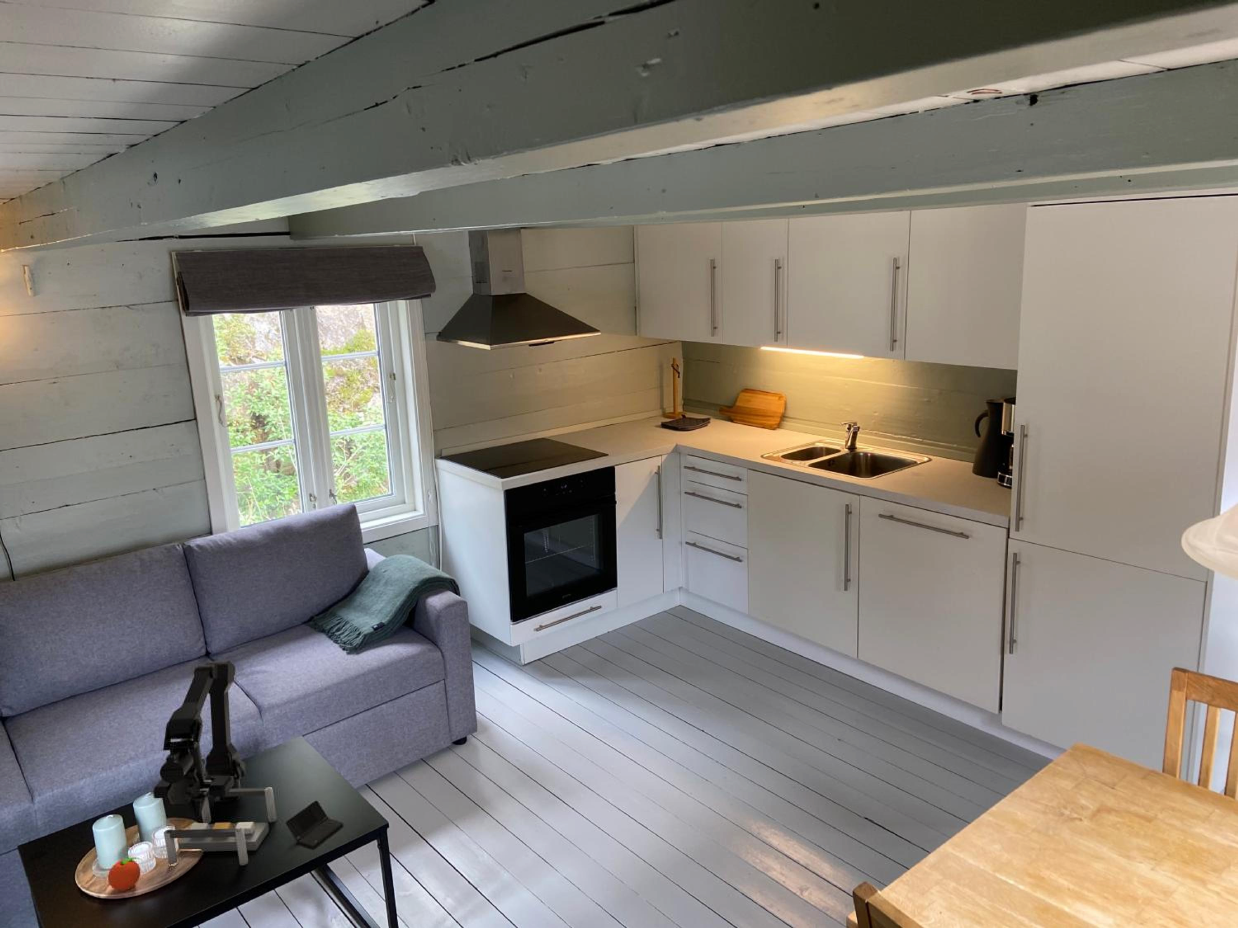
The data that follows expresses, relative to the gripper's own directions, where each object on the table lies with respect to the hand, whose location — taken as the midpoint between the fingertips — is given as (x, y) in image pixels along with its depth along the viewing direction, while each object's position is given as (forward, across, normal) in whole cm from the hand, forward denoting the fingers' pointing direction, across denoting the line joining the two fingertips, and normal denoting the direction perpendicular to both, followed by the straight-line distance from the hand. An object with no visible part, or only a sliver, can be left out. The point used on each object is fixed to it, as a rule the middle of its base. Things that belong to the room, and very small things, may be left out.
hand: (198, 815), depth 236 cm
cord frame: (+8, +6, 0) cm, 10 cm away
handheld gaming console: (+8, +29, +3) cm, 30 cm away
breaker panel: (+8, +6, 0) cm, 10 cm away
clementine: (+8, -10, -17) cm, 21 cm away
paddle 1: (+5, 0, 0) cm, 5 cm away
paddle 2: (+5, +12, 0) cm, 13 cm away
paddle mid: (+5, +6, 0) cm, 8 cm away
